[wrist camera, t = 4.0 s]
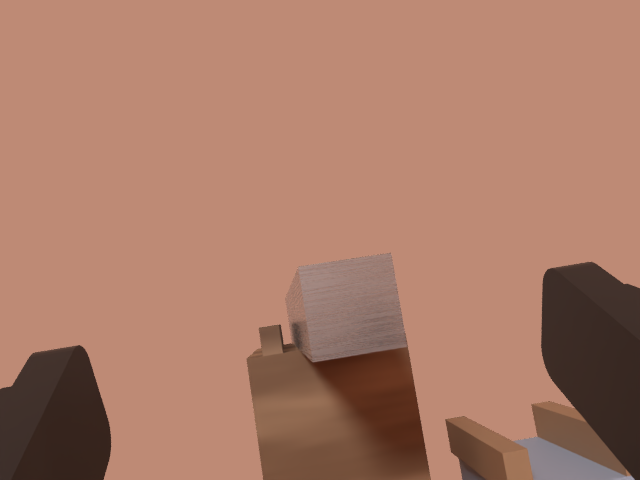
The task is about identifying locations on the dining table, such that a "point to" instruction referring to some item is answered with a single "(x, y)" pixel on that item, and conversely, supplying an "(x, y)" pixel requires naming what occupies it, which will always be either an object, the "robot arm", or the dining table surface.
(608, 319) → the robot arm
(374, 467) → the beam stand
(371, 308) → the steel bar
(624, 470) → the cradle post
